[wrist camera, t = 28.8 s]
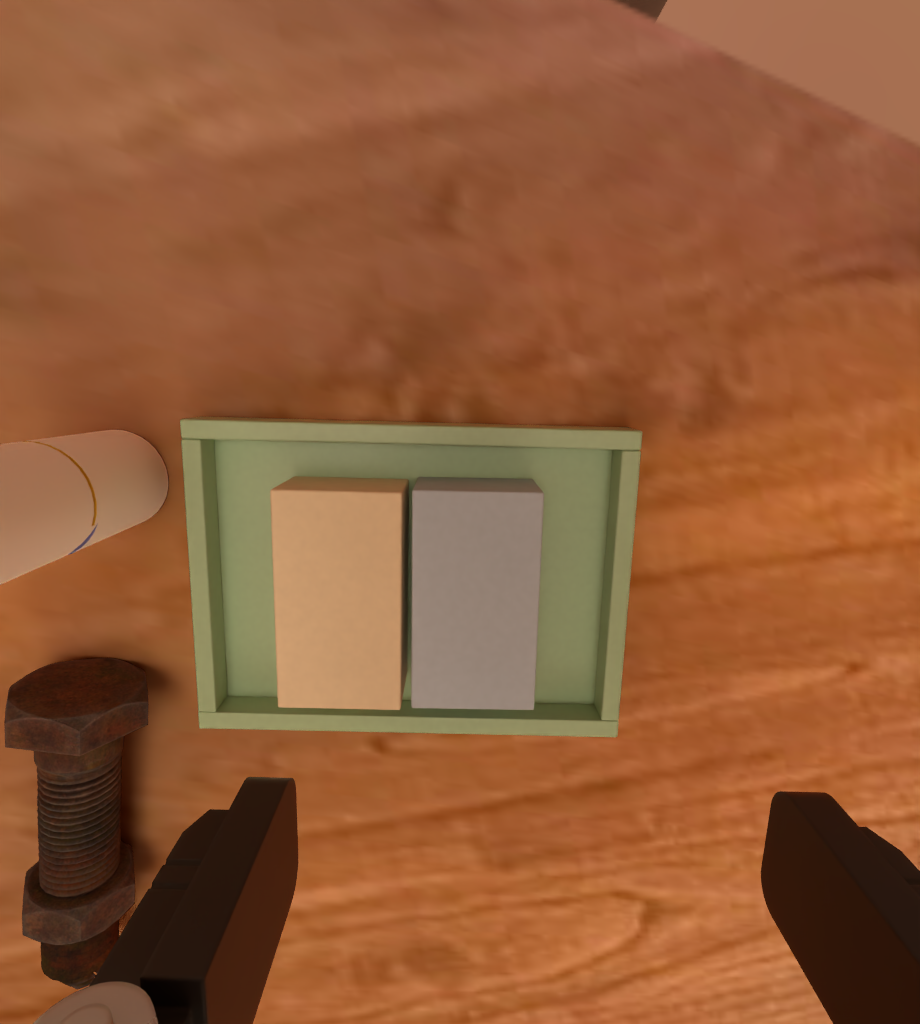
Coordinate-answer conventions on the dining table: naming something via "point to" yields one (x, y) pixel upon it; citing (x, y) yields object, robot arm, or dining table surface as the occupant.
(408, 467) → the tray
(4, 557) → the tube
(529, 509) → the blue-grey pad
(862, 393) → the dining table surface
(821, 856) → the robot arm
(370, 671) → the cream pad
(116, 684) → the bolt
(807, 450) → the dining table surface
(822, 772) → the dining table surface
